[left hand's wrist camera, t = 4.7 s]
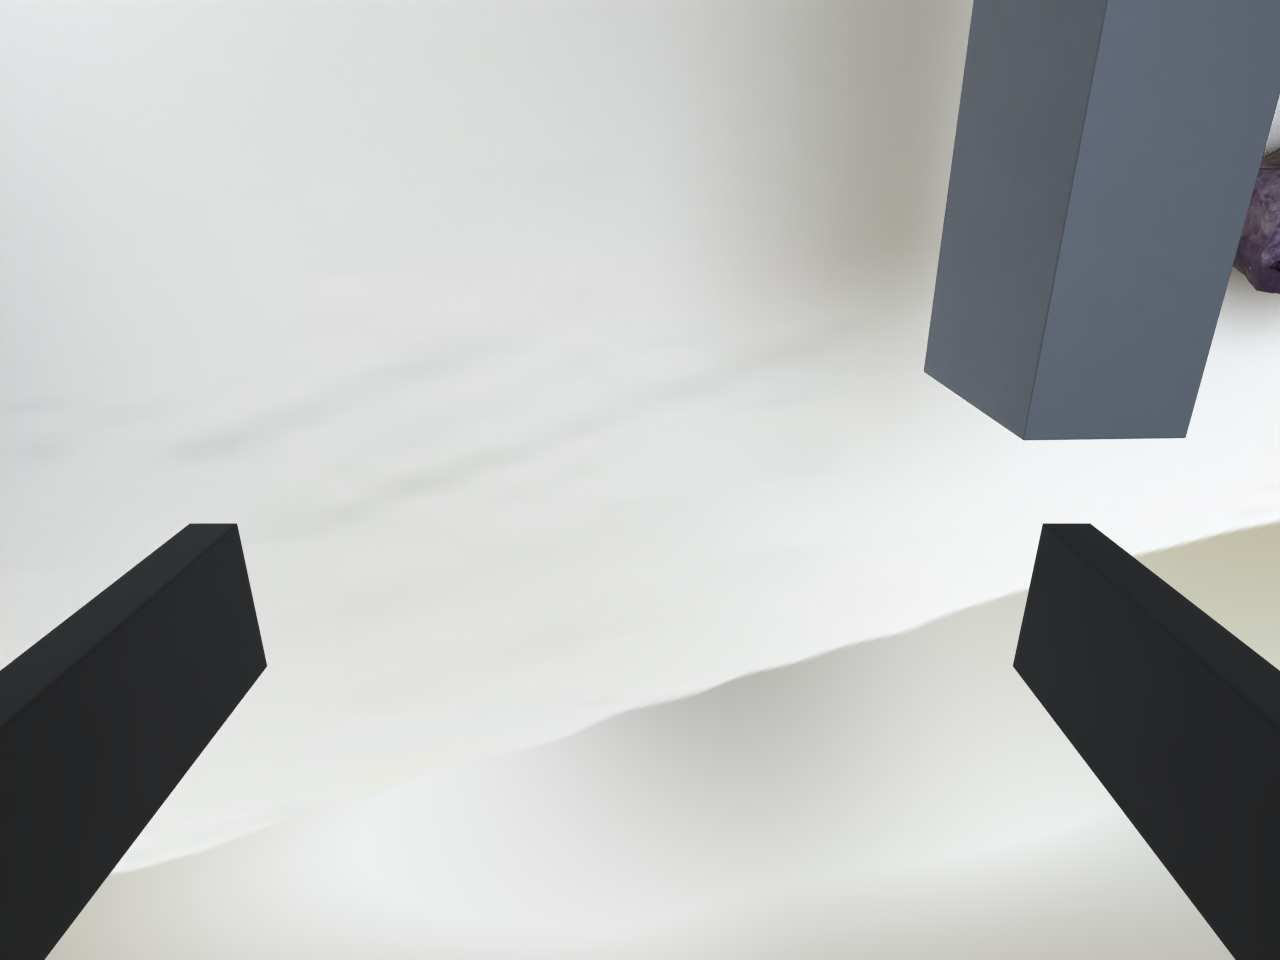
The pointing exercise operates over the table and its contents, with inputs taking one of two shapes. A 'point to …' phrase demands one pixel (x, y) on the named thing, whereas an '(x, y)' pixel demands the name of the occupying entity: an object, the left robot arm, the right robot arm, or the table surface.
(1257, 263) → the rock
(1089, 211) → the bar
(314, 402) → the table surface
